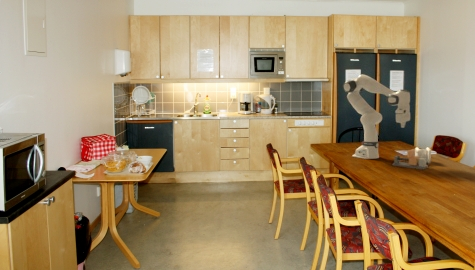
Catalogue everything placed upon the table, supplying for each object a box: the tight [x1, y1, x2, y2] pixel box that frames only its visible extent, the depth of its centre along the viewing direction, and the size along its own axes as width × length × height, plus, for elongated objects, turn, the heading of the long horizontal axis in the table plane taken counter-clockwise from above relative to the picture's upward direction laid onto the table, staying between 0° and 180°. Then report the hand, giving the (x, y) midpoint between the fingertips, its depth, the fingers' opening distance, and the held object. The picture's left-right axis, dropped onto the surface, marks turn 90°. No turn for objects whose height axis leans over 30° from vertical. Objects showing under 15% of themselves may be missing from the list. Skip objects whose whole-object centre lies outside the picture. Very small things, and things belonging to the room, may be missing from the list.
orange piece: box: [406, 148, 420, 165], centre depth 345 cm, size 6×12×11 cm, turn 137°
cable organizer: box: [414, 146, 432, 165], centre depth 362 cm, size 15×11×12 cm
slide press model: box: [392, 155, 429, 170], centre depth 348 cm, size 24×10×7 cm, turn 47°
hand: (402, 127), depth 358 cm, fingers closed
